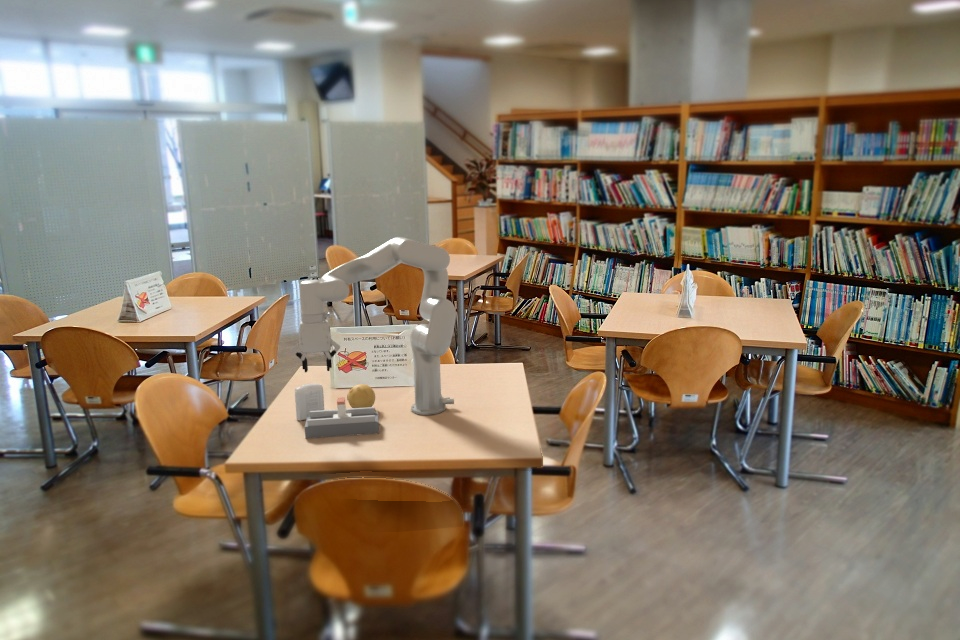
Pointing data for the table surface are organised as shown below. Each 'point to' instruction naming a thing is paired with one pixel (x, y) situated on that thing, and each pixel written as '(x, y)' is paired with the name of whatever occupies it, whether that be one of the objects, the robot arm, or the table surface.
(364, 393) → the stress ball
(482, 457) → the table surface
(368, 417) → the gray slider track
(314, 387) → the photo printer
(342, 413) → the knob
